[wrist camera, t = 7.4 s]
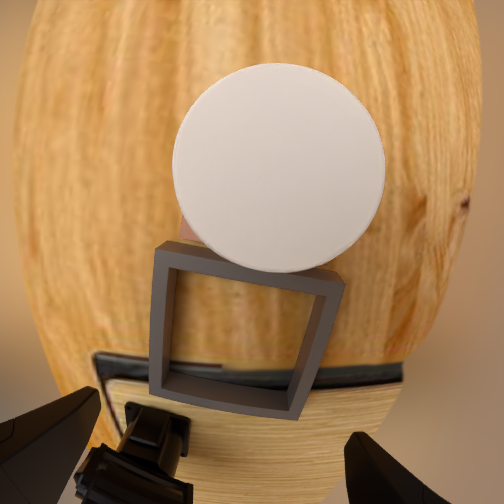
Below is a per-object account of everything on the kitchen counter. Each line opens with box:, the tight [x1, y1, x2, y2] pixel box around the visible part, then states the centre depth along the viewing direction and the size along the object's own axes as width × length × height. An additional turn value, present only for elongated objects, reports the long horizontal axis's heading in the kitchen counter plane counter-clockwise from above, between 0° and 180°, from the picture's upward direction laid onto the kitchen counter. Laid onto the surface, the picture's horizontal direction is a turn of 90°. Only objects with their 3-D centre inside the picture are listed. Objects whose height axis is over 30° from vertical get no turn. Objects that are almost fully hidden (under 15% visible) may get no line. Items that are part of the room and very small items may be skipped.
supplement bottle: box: [172, 63, 386, 273], centre depth 12 cm, size 7×7×13 cm
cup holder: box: [149, 241, 346, 421], centre depth 20 cm, size 12×12×2 cm
